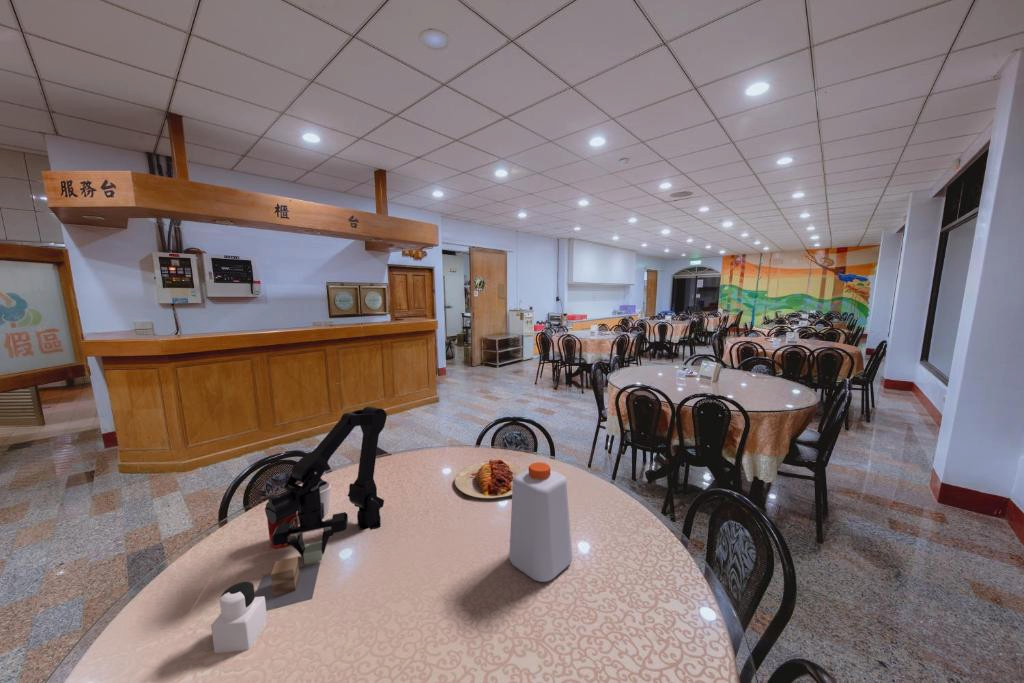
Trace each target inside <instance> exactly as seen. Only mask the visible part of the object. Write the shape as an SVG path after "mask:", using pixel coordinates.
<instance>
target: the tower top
mask: <svg viewBox="0 0 1024 683" xmlns="http://www.w3.org/2000/svg"><path fill="white" fill-rule="evenodd" d="M298 567H299V559H298V556H294V557H290V558H286V559H281V560H276V561H275V562H274V565H273V568H272V570H271V573H270V574H271V582H272V585H276V584H280V583H284V582H288V581H292V580H295V577H296V573H297V570H298Z"/></svg>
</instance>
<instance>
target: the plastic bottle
mask: <svg viewBox="0 0 1024 683" xmlns="http://www.w3.org/2000/svg"><path fill="white" fill-rule="evenodd" d="M525 470H526V469H525ZM511 489H512V496H511V512H510V514H511V515H510V535H509V555H508V556H509V562H510V563H511V564H512V565H513V566H514V567H515V568H516V569H517V570H519V571H521V573H524V574H525V575H526V576H528V577H529V578H531V579H532V580H534V581H536V582H538V583H539V582H540V583H547V582H549V581H552V580H553V579H555V578H556V577H557V576H558V575H559V574H560V573H561V572H563V571H564V570H565V569H566V568H568V566H570V564H571V563H572V561H573V547H572V546H573V545H572V544H573V543H572V534H571V520H570V508H569V506H570V504H569V497H568V496H569V494H568V482H567V478H566V477H565V476H564V475H563V474H561V473H559V472H557V471H554V470H552V469H551V466H550V465H549V464H547V463H545V462H533V463H531V464H529V466H528V468H527V470H526V471H524V472H522V473H520V474H519V475H517V476H513V481H512V488H511Z"/></svg>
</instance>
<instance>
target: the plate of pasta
mask: <svg viewBox="0 0 1024 683" xmlns="http://www.w3.org/2000/svg"><path fill="white" fill-rule="evenodd" d="M524 471H526V469H525V468H523V469H522V468H521V467H520V465H519V464H517V463H516V462H515V463H513V462H510V461H509V462H508V461H503V460H502V459H494V460H493V459H489V460H488V461H487V460H486V461H480V462H478V463H475V464H471V465H469V466H466V467H465V468H464V467H463V469H461V470H460V471H459V473H458V474H457V476H455V479H454V485H455V486H456V488H457V489H458V490H459V492H461V494H465V495H467V496H470V497H474V498H480V499H497V498H498V499H499V498H507V497H512V489H513V484H512V483H513V479H514V477H515V476H517V475H519V474H520V473H522V472H524ZM513 475H514V476H513ZM475 477H476V479H475ZM471 479H472V480H471ZM470 480H471V481H472V483H475V481H476V482H477V485H478V486H479V487H480V492H481V493H478V492H476V491H473V489H471V488H470V486H469V481H470ZM471 481H470V483H471Z"/></svg>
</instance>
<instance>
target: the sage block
mask: <svg viewBox="0 0 1024 683" xmlns="http://www.w3.org/2000/svg"><path fill="white" fill-rule="evenodd" d="M304 546H305V550H304V554H303V556H304V558H303V563H304V565H308V564H313V563H317V562H321V561H322V560H323V557H324V554H322V540H321V541H316V542H311V543H307V544H305V545H304Z"/></svg>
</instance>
